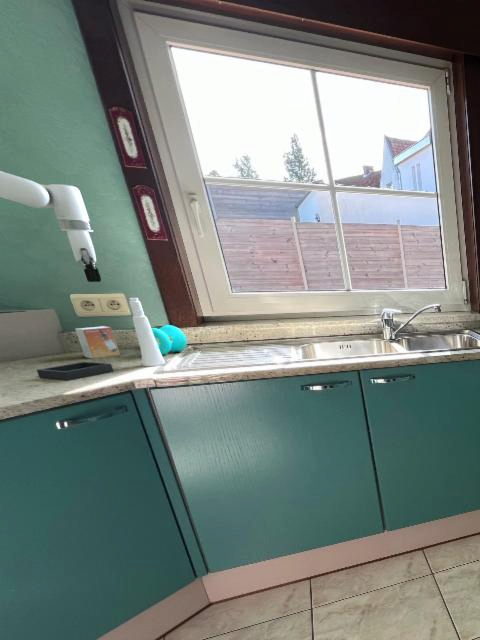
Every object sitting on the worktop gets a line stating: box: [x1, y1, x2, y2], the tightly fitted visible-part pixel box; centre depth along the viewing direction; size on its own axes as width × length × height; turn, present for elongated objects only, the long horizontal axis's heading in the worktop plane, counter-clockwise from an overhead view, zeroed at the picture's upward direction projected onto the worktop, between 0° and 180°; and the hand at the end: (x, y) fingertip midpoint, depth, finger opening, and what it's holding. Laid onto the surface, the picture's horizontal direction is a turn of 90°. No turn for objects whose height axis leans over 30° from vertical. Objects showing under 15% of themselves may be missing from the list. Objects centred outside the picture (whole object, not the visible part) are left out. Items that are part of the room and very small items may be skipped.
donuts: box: [151, 324, 188, 356], centre depth 184 cm, size 10×10×10 cm
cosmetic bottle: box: [128, 297, 167, 367], centre depth 164 cm, size 6×6×22 cm
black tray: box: [36, 361, 114, 381], centre depth 153 cm, size 11×13×3 cm
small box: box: [74, 325, 121, 359], centre depth 175 cm, size 8×6×10 cm
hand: (94, 280), depth 169 cm, fingers open, 9 cm apart
